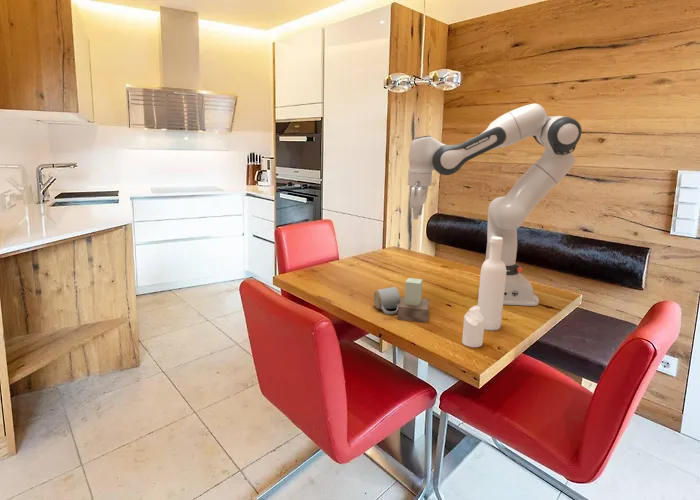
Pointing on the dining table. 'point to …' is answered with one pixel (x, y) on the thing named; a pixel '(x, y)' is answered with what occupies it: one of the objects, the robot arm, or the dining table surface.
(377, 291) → the ceramic mug
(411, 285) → the sage block
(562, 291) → the dining table surface
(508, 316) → the dining table surface
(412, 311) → the walnut block
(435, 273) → the dining table surface
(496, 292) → the bottle
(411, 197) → the robot arm
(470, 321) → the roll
